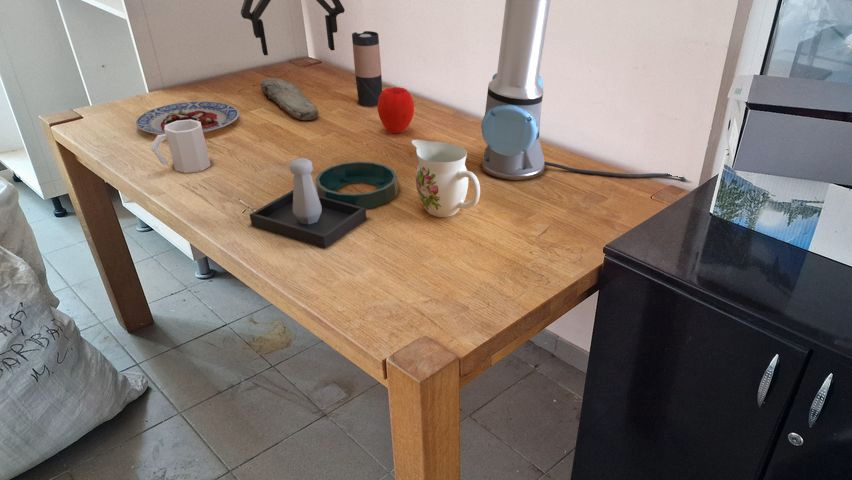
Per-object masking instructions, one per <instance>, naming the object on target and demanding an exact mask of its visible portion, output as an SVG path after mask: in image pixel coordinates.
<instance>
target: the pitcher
mask: <svg viewBox="0 0 852 480" xmlns="http://www.w3.org/2000/svg"><path fill="white" fill-rule="evenodd" d="M411 145H412V146H413V148H415V150H416V152H415V153H416V159H417V161H418V165H417V168H416V171H415V172H416V173H415V174H416V175H415V186H416V191H417V195H418V198H419V200H420V203H421V205H422V206H423V208H424V209H425V210H426V211H427V213H428V214H429V215H431V216H433V217H437V218H438V217H439V218H447V217H452V216H454V215H456V214H457V213H458V212H459V211H460V209H462V210H468V209H471V208H474V207H475V206H476V205H477V204H478V203H479V200H480V197H481V185H480V181H479V179H478V177H477V175H476V174H475V173H473V171H469V170H468V168H467V166H466V160H467V156H468V155H467V154H468V152H467V150H466V148H464V147H462V146H461V145H458V144H456V143H455V144H454V143H451V142H443V141H431V140H426V139H417V138H416V139H412V140H411ZM469 181H471V183H472V186H473V187H472V188H473V196H472V199H471V200H470V201H467V202H465V200H466V198H467V193H468V189H469Z"/></svg>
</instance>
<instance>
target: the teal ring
mask: <svg viewBox="0 0 852 480" xmlns="http://www.w3.org/2000/svg"><path fill="white" fill-rule="evenodd" d="M398 182H399V181H398V175H397V173H396V170H395V169H393V168H391V167H390V166H387V165H386V164H382V163H378V162H374V161H350V162H349V161H348V162H342V163H337V164H335V165H334V164H333V165H330V166H328V167H327V168H325V169H323V170H321V171H320V172H318V174H317V175H316V177H315V188H316V191H317V194H318V195H319V196H323V197H326V198H330V199H334V200H337V201H341V202H345V203H348V204H352V205H356V206H359V207H363V208H366V210H367V209H374V208H377V207H379V206H382V205H385V204H388V203H389V202H390V201H392V200H393V199H395V198H396V197H397V194H398V192H399V183H398ZM360 183H364V184H368V185H372V186H376V188H377V189H375V190H372V191H366V192H359V193H349V192H338V190H340V189H341V188H343V187H344V186H346V185H352V184H360Z"/></svg>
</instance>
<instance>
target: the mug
mask: <svg viewBox="0 0 852 480" xmlns="http://www.w3.org/2000/svg"><path fill="white" fill-rule="evenodd" d="M164 131H165V134H162V135H159V134H156V135H157V136H156V137H155V138H154V140H153V142H152V144H151V145H150V149H151V151H152V152H153V153H154V155H155V156H156V158H157V159H158V161H159V162H160V163H161V164H162V166H166V165H167V164H168V163H169V162H168V161H167V159H166V158H165V157H164V155H163V154H162V153H161V151H160V150H159V149H160V147H161V145H162V143H163V141H166V142H167V146H168V150H169V153H170V158H171V160H172V161H171V162H172V164H173V169H174V170H175V171H177V172H179V173H184V174H189V173H198V172H202V171H204V170H206V169H207V168H209V167H211V160H210V157H209V152H208V148H207V147H208V146H207V143H206V139H205V134H204V133H203V130H202V126H201V122H199V121H195V120H179V121H175V122H172V123H169V124H167V125H165V128H164Z"/></svg>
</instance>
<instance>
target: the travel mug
mask: <svg viewBox="0 0 852 480" xmlns="http://www.w3.org/2000/svg"><path fill="white" fill-rule="evenodd" d="M351 38H352V39H351V41H352V53H353V66H354V77H355V84H356V93H357V100H358V104H359V105H360V106H362V107H368V108H370V107H372V108H373V107H377V106H378V99H379V96H380V94H381V92H382V91H383V81H382V80H383V76H382V62H381V50H380V49H381V48H380V39H379V38H380V37H379V33H378V32H376V31H372V30H365V31H363V32H361V33H358V31H357V32H356V31H355V32H353V33H351Z"/></svg>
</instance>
